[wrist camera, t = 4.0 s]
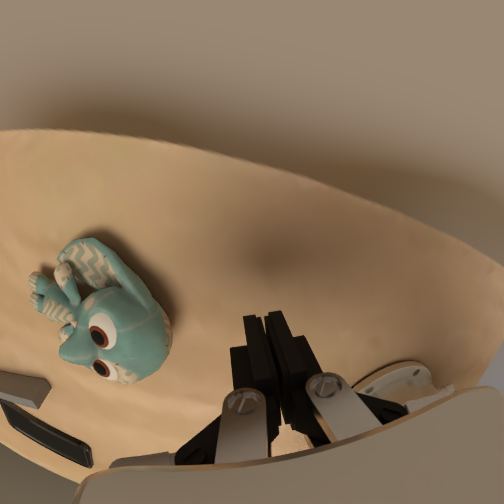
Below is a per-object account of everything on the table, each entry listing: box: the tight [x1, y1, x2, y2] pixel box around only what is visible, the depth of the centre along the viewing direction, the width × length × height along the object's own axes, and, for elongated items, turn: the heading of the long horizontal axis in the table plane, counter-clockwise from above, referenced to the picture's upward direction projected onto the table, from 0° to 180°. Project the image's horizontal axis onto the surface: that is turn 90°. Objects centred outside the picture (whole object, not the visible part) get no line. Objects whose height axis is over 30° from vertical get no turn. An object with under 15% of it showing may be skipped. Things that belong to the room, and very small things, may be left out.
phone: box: [0, 398, 93, 468], centre depth 22 cm, size 8×1×15 cm
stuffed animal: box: [28, 237, 173, 385], centre depth 15 cm, size 11×7×12 cm
